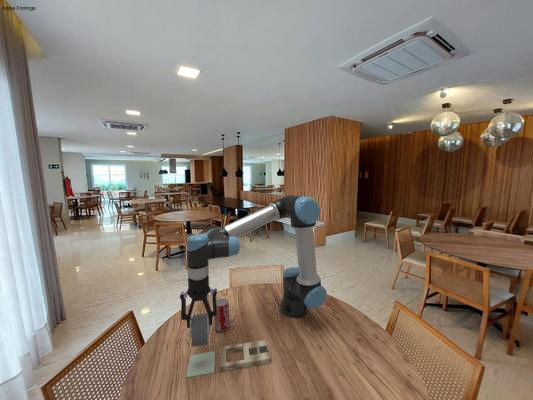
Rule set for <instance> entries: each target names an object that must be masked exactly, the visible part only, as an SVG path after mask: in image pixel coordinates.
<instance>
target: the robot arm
mask: <svg viewBox="0 0 533 400" xmlns="http://www.w3.org/2000/svg"><path fill="white" fill-rule="evenodd" d="M320 216H321V207H320V205H319V203H318V202H317V201H316V200H315V199H314V198H313V197H309V196H306V195H305V196H304V195H295V194H288V195H285V196H283V197H281V198H278V199H275V200H274V201H271V202H270V203H268V206H265V207H263V208H262V209H259V210H256V211H255V212H252V213H251V214H247V215H246V216H244V217H242V218H239V219H237V220H235V221H233V222H231V223H228V224H226V225H225V226H222V227H219V228H218V229H217V228H212V229H209V230H208V231H207V232H206V234H203V233H201V234H192V235H190V236H188V237H187V240H186V255H187V256H186V261H187V280H188V281H187V290H186V291H181V292H180V294H179V299H180V303H181V304H180V305H181V307H180V308H181V309H180V310H181V311H180V315H181V316H180V317H181V318H180V319H181V321H186V328H187V329H189V337H190V338H192V333H191V323H192V318H193V316H192V314H193V313H192V312H193V309H194V306H195V302H198V301H202V303H203V305H204V308H205V311H206V314H208V315H207V335H208V336H209V335H210V330H211V329H210V326H212V325H213V317H214V316H216V315H217V305H216V301H217V294H218V289H217V288H211V287H210V276H209V272H210V271H209V270H210V269H209V266H210V265H209V260H214V259H221V258H222V259H223V258H227V257H228V258H229V257H234V256H237V255H239V253H240V250H241V249H240V248H241V247H240V241H239V238H241V237H242V236H245V235H247V234H249V233H250V232H253V231H255V230H257V229H259V228H261V227H262V226H265V225H267V224H268V223H271V222H273V221H280V220H282V219H290V227H291V228H293V229H294V233H295V234H294V236H295V245H296V256H297V266H298V267H297V266H296V267H295V266H292V267H288V268H285V269H284V270H283V272H282V278H283V279H282V286H283V287H282V289H283V290H282V297H281V299H280V303H279V310H280V312H281V313H282V314H283V315H284V316H286V317H289V318H301V317H303V316H305V315H306V314H307V313H308V309H311V310H316V309H319V308H320V307H321V306H323V304H324V303H325V301H326V299H327V297H328V296H327V295H328V292H327V290H326V288H325V287H324V286H323V285H322V281H321V276H320V275H319V274H318V271H317V260H316V258H317V257H316V248H315V247H316V246H315V236H314V227H315V226H317V221H318V220H319V217H320ZM209 294H210V295H211V296H212V299H211V300H212V308H211V305H210V303H209V299H208V295H209ZM187 297H189V298H190V299H191V302H190V305H189V308H188V313H187V312H186V311H187Z"/></svg>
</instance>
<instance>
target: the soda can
mask: <svg viewBox="0 0 533 400" xmlns="http://www.w3.org/2000/svg"><path fill="white" fill-rule="evenodd" d="M216 305H217V315H216V316H213V317H214V329H216V331H218V332H225V331H227V330H228V328H229V327H230V323H231V322H230V304H229V301H228V299H225V298H220V299H216Z"/></svg>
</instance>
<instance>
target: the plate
mask: <svg viewBox="0 0 533 400" xmlns="http://www.w3.org/2000/svg"><path fill="white" fill-rule="evenodd" d="M235 352H242V355H243V356H242V357H243V359H241V360H235V361H228V362H227V354H230V353H235ZM271 363H272V356H271V352H270V348H269V345H268V341H267V339H264V340H257V341H256V340H255V341H250V342H245V343H238V344H230V345H224V346H219V373H222V372H228V371H233V370H238V369H239V370H240V369H247V368H251V367H256V366H261V365H267V364H271Z"/></svg>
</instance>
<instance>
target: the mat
mask: <svg viewBox="0 0 533 400" xmlns="http://www.w3.org/2000/svg"><path fill="white" fill-rule="evenodd" d="M215 359H216V351H209V352H202V353H196V354H195V353H194V354H189V358H188V364H187V370H186V374H185V375H186V376H185V378H186V379H188V378H189V379H190V378H194V377H199V376H200V377H201V376H205V375H210V374H212V375H213V374H214V373H215V364H216V363H215Z"/></svg>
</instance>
